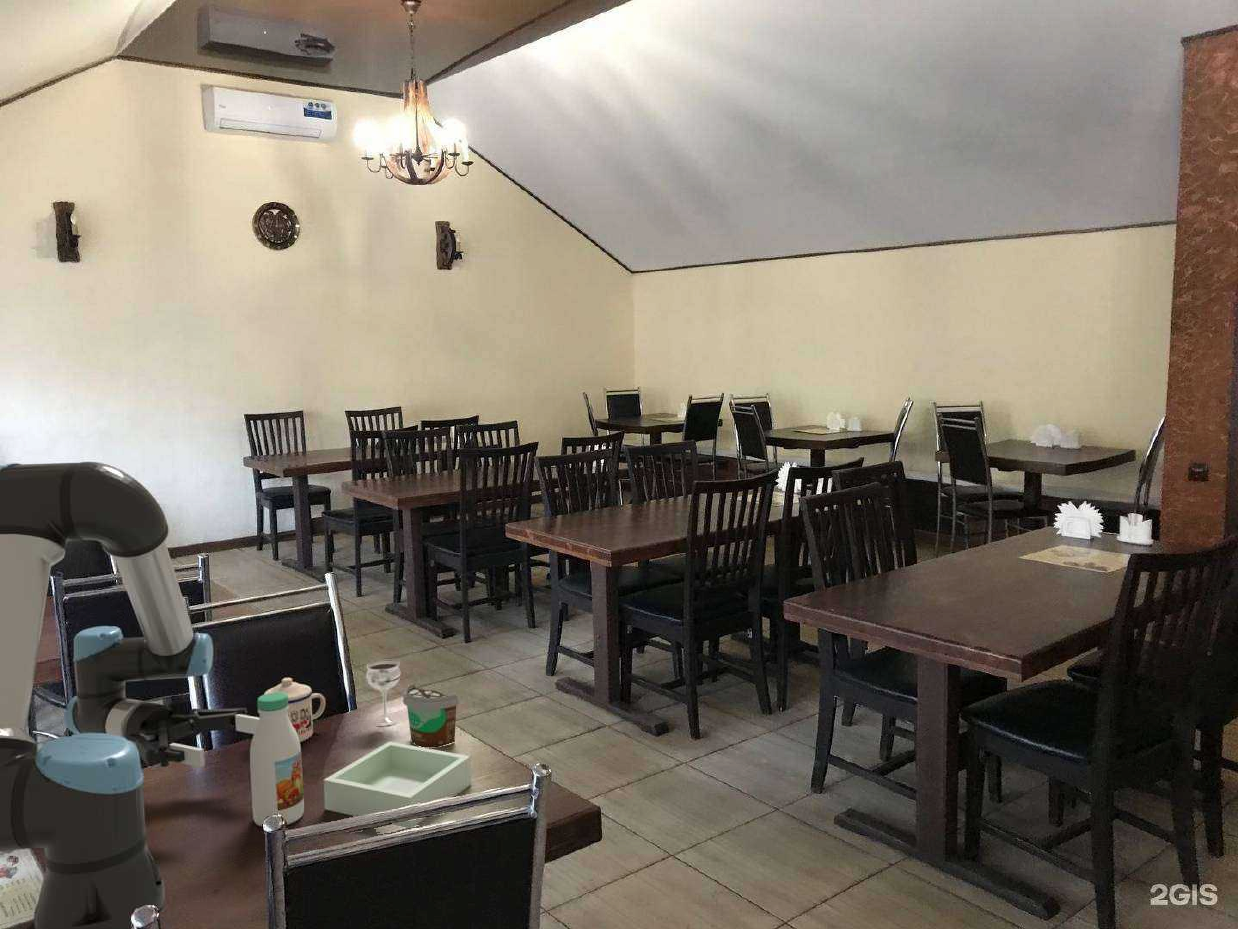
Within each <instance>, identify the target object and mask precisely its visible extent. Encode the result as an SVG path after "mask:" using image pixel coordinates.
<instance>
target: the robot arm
mask: <svg viewBox="0 0 1238 929" xmlns="http://www.w3.org/2000/svg"><path fill="white" fill-rule="evenodd" d="M169 532H170V528H169V525H168V521H167V518H166V515H165V512H164V511H163V509H162V507H161V505H160V503H159V502H158V501H157V500H156V498H155V497H154V496H153V495H152V493H151V492H150V491H149V490H148V489H147V488H146V487H144V485H143V484H141V482H139V481H138V480H136V479H135V478H134V477H133V476H131V475H129V474H128V473H126V472H125V471H123V470H122V469H120V468H118V467H114V466H112V465H109V464H106V463H103V462H98V461H97V462H96V461H81V462H60V463H58V462H57V463H56V462H55V463H53V462H52V463H29V464H27V463H26V464H22V463H18V462H16V463H15V462H12V463H8V464H7V463H6V464H3V465H0V852H8V851H17V850H26V849H35V848H36V849H38V848H43V849H44V855H45V867H46V868H45V873H44V877H43V881H42V884H41V889H40V892H39V896H38V901H37V903H36V904H37V905H36V906H35V910H34V914H33V922H34V923H33V924H34V929H131V914H132V913H133V912H134V911H135V909H136V908H140V907H142V906H145V905H154V906H156V907H157V908H158V910H159V911H160V910H161V909H162V908H163V905H164V903H165V899H166V894H165V883H164V879H163V877H162V875H161V873H160V870H159V868H158V867H157V864H156V862H155V860H154V858H153V856H152V854H151V852H150V850H149V847H148V845H147V833H146V830H147V829H146V818H145V816H146V815H145V801H144V799H145V798H144V783H143V782H144V779H145V777H144V772H143V769H142V766H141V759H142V760H143V761H144V763H145V764H146V765H147V766H148V767H153V766H156V765H157V762H160V767H161V768H165V767H168V766H169V765H170V762H174V763H178V764H182V765H188V766H192V767H196V768H203V767H205V764H206V763H205V751H204V750H205V749H204V748H201V747H195V746H191V745H186V744H182V743H176V741H178V740H181V739H183V738H185V737H186V738H188V737H194V736H199V734H200V733H206V732H216V731H224V730H231V729H235V730H236V731H237V732H242V733H246V734H251V735H254V734H255V731H256V729H257V726H258V722H259V717H258V716H251V715H248V708H246V707H243V708H242V707H238V708H216V709H215V708H214V709H212V708H211V709H202V708H192V709H190V714H182V713H180V714H176V713H175V712H174V711H173V709H172V708H171V707H169V706H167V705H165V704H161V703H155V702H150V701H146V700H139V699H133V698H127V697H126V683H127V682H137V681H148V680H151V681H153V680H166V679H187V678H191V677H198V676H199V677H200V676H204V675H207V674H208V673H209V672H210V671H211V668H212V665H213V660H214V644H213V640H212V637H211V636H210V634H208V633H201V632H200V633H199V632H195V633H194V629H193V627H192V623H191V620H190V617H189V613H188V610H187V608H186V607H187V606H186V604H185V601H184V598H183V594H182V592H181V589H180V584H179V581H178V578H177V575H176V571H175V568H174V565H173V562H172V558H171V556H170V552H169V550H168V546H167V543H166V541H167V539H168V537H169ZM88 540H89V541H97V542H100V545H101V547H102V549H103V551H104V552H105V553H106V554H108V555H109V556H112V557H113V558H114V561H115V564H116V566H117V568H118V571H119V574H120V576H121V579H122V581H123V584H124V586H125V590H126V591H127V595H128V598H129V600H130V604H131V605H132V608H133V611H134V614H135V616H136V619H137V621H138V624H139V627H140V630H141V632H142V634H143V636H141V637H140V636H139V637H124V636H123V632H122V630H121V628H120V627H118V626H109V625H101V626H93V627H89V628H87V629H83V630H81V631H79V632H78V633H77V634H76V635H74V638H73V659H72V660H73V664H74V665H73V666H74V676H75V678H74V679H75V686H76V688H75V689H76V695H75V696H73V698H71V699H70V701H69V702H68V704H67V707H66V710H65V711H64V719H63V720H64V723H65V725H66V727H67V729H68V730H69V731H70V732H72V733H74V734H71V736H60V737H58V738H54V739H51V740H50V741H47V742H46V743H44V744H42V745H41V747H40V748H39V749H38V751H37V747H38V746H37V745H38V744H37V743H38V742H37V741H36V740H35V739H34V738H33V737H32V736H31V735H30V734H29V733H28V731H27V726H28V718H29V715H30V714H29V713H30V705H31V701H32V695H33V694H32V693H33V687H34V680H35V674H36V673H35V672H36V667H37V666H36V665H37V663H38V662H37V660H38V653H39V648H40V641H41V640H40V639H41V635H42V634H41V633H42V628H43V621H44V616H45V609H46V603H47V602H46V601H47V594H48V588H49V582H50V575H51V569H52V567H53V566H54V565H55V564H57V563H59V562H61V560H63V559H64V558H65V556H66V547H67V543H68V542H76V541H77V542H78V541H88ZM192 725H193V727H194V730H192ZM170 742H171V743H170ZM169 743H170V744H169Z"/></svg>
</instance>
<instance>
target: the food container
mask: <svg viewBox="0 0 1238 929" xmlns="http://www.w3.org/2000/svg"><path fill="white" fill-rule="evenodd" d="M402 702H403V704H404V706H406V708H407V714H408V724H409V733H410V740H412V741H411V743H412V742H413V743H415V744H416V745H418V746H421V747H429V748H428V749H431V748H430V747H439V746H443V745H446V744H449V743H452V742H455V741H456V719H457V706H458V705H459V704H460V702H459V698H458V695H457V693H454V694H449V695H446V694H443V693H441V692H439V691H437V690H432V689H431V690H429V689H422V688H419V687H416V682H413V683H411V684H409V685H408V686H407V687H406V689H405V691H404V694H403V699H402ZM413 743H412V744H413Z"/></svg>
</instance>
